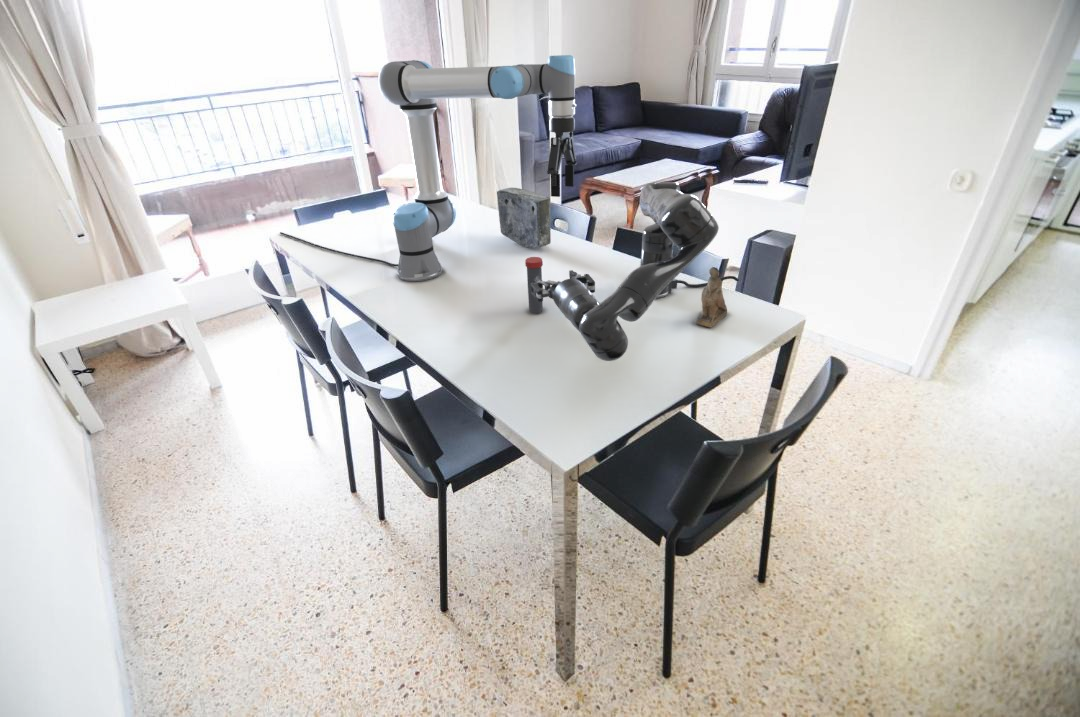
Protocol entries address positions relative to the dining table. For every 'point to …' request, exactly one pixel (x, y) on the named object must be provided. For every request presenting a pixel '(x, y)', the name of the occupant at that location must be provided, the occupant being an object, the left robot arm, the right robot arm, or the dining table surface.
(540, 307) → the jar
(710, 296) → the worn brown figurine
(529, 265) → the lid
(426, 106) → the left robot arm
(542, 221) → the concrete block
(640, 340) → the dining table surface
